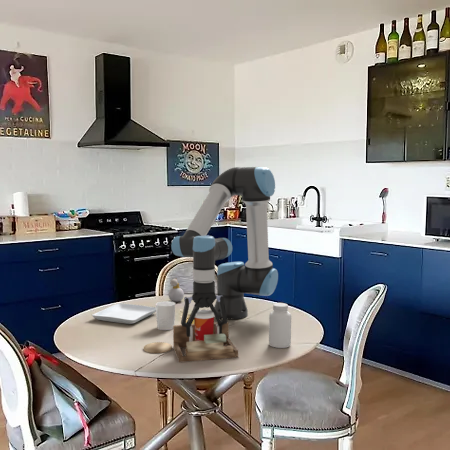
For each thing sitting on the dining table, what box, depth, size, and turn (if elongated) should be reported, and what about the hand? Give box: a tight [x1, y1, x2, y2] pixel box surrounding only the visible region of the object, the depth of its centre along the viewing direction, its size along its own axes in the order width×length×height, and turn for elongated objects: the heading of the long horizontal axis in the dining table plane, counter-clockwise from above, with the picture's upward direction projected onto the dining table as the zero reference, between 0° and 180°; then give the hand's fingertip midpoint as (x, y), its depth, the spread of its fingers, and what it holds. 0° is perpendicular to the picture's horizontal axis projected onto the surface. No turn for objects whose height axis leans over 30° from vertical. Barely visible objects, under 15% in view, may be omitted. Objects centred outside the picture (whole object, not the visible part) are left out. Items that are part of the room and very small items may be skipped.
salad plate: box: [91, 302, 156, 325], centre depth 222 cm, size 21×21×3 cm
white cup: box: [155, 300, 176, 331], centre depth 207 cm, size 8×8×10 cm
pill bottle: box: [268, 302, 292, 349], centre depth 186 cm, size 8×8×15 cm
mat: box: [143, 341, 173, 354], centre depth 183 cm, size 10×10×1 cm
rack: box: [172, 321, 239, 363], centre depth 179 cm, size 20×15×8 cm
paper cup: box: [193, 309, 215, 341], centre depth 180 cm, size 8×8×14 cm
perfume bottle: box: [168, 277, 185, 303], centre depth 249 cm, size 8×10×12 cm
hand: (204, 344), depth 180 cm, fingers open, 9 cm apart
